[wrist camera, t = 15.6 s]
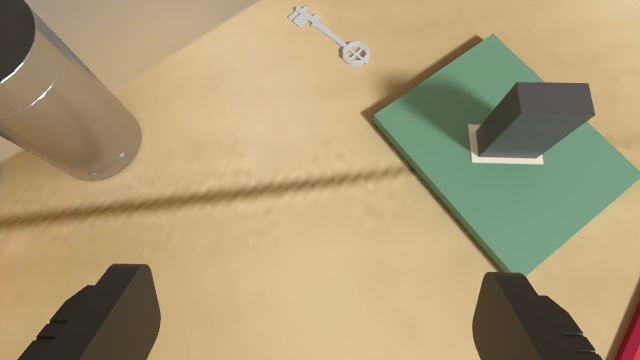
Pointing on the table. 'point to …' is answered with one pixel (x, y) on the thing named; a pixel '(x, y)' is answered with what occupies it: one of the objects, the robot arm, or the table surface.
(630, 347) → the red board with handle
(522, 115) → the block
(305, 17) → the key
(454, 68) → the header board
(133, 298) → the robot arm
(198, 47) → the table surface
